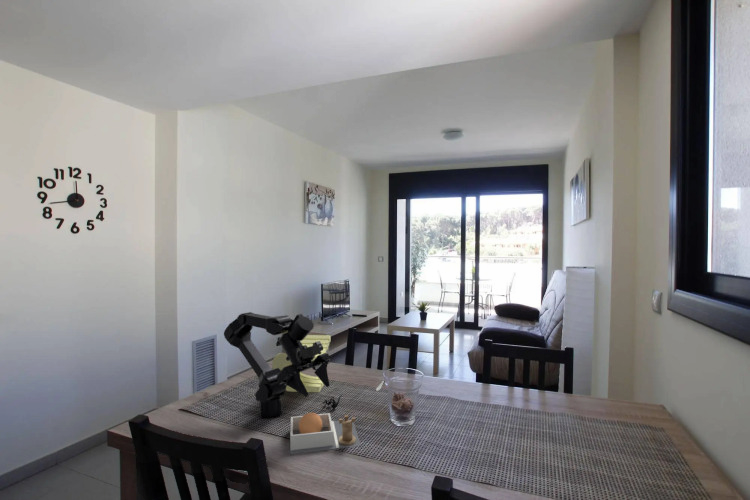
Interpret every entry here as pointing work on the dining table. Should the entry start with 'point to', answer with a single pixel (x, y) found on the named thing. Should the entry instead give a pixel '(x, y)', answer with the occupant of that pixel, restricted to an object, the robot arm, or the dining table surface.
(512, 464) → the dining table surface
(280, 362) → the slatted curved stool
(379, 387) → the fork
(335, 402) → the creature
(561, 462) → the dining table surface
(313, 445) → the tray
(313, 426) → the ball
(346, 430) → the ball tee
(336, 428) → the grey flat plate
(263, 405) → the robot arm
